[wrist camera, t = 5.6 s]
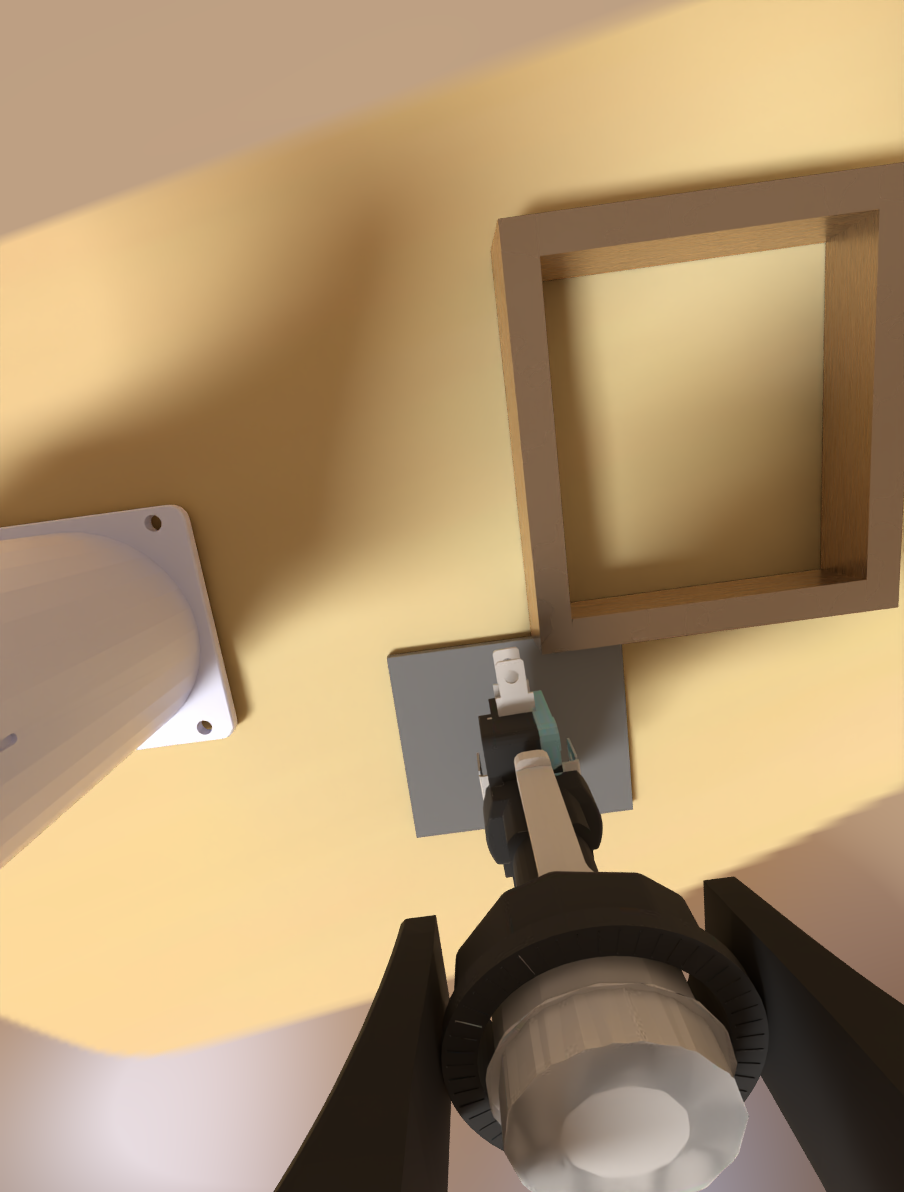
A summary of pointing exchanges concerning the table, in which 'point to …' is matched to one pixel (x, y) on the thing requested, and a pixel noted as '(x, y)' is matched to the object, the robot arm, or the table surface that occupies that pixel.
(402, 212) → the table surface
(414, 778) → the mat
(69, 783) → the robot arm
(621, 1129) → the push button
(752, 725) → the table surface
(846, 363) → the frame
